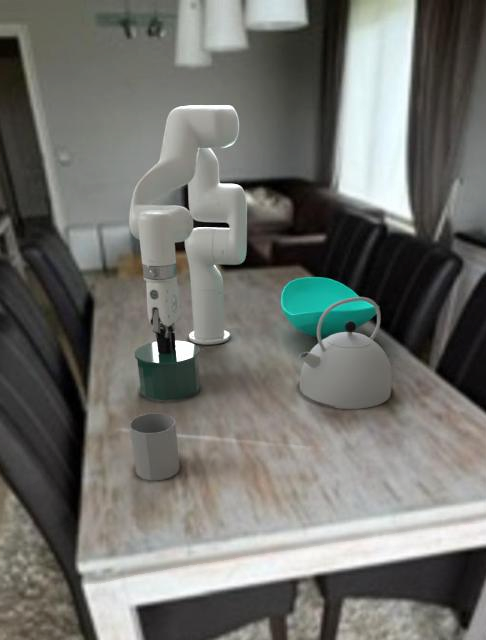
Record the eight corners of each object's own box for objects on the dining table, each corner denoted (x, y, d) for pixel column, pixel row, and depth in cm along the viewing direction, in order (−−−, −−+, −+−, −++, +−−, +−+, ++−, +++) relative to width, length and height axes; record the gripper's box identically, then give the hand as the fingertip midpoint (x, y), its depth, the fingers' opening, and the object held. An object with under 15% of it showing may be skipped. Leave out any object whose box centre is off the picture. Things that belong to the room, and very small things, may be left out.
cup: (156, 454, 115) (151, 409, 109) (188, 465, 111) (184, 420, 105) (127, 472, 109) (120, 425, 104) (158, 485, 105) (153, 437, 100)
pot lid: (148, 343, 145) (146, 319, 142) (207, 347, 142) (205, 322, 139) (124, 365, 132) (121, 339, 129) (188, 369, 129) (186, 343, 126)
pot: (153, 376, 149) (149, 341, 144) (206, 380, 147) (204, 345, 142) (132, 399, 137) (127, 362, 132) (189, 404, 135) (187, 366, 130)
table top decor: (396, 352, 164) (402, 306, 156) (305, 361, 158) (308, 314, 151) (342, 314, 196) (346, 274, 189) (266, 320, 190) (266, 279, 183)
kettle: (324, 418, 128) (331, 319, 116) (275, 383, 145) (276, 293, 133) (410, 396, 138) (425, 303, 125) (354, 366, 154) (362, 281, 142)
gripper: (163, 280, 119) (170, 364, 129) (186, 264, 133) (191, 341, 143) (130, 279, 121) (140, 361, 131) (156, 263, 134) (163, 339, 144)
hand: (167, 350), depth 137 cm, fingers closed on pot lid, 2 cm apart
